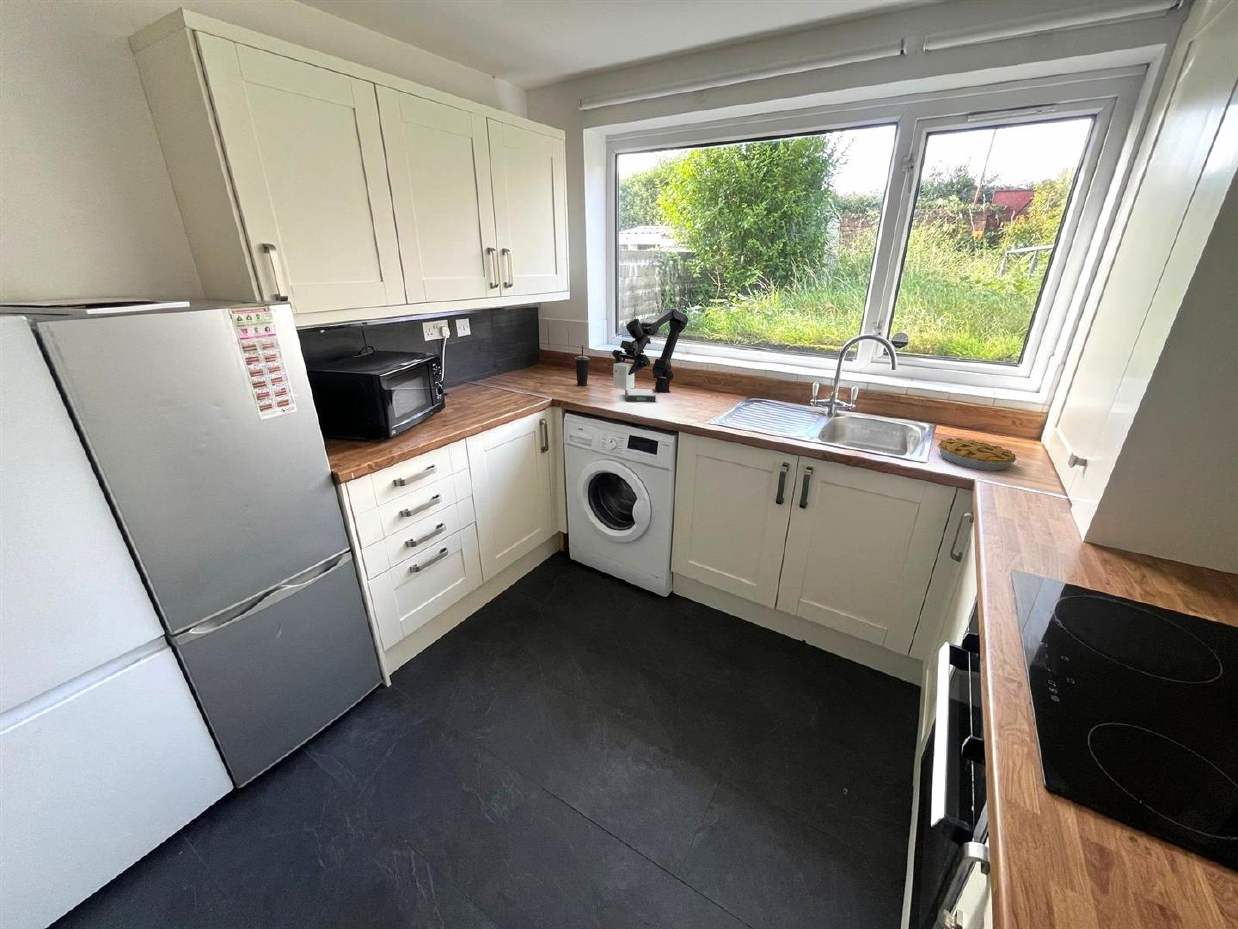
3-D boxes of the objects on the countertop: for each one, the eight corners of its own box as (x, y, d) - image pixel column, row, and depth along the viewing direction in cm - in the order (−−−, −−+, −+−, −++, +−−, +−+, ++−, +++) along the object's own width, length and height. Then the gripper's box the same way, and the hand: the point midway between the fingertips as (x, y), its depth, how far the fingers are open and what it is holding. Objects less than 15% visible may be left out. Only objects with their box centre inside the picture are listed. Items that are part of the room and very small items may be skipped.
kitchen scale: (651, 395, 239) (652, 388, 238) (655, 402, 227) (655, 395, 226) (624, 394, 238) (625, 388, 237) (627, 401, 226) (627, 394, 225)
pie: (923, 456, 169) (927, 442, 168) (952, 445, 181) (956, 432, 180) (997, 477, 153) (1002, 462, 151) (1023, 464, 165) (1028, 450, 163)
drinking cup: (589, 387, 251) (589, 346, 244) (573, 386, 251) (573, 346, 244) (590, 383, 258) (590, 344, 251) (575, 383, 258) (575, 343, 251)
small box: (634, 388, 223) (635, 364, 219) (626, 390, 219) (626, 366, 215) (621, 385, 228) (621, 361, 224) (612, 386, 224) (613, 363, 220)
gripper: (614, 331, 223) (597, 359, 220) (647, 335, 212) (629, 365, 209) (625, 347, 232) (609, 374, 228) (657, 352, 221) (641, 380, 217)
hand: (621, 373), depth 220 cm, fingers closed on small box, 8 cm apart
